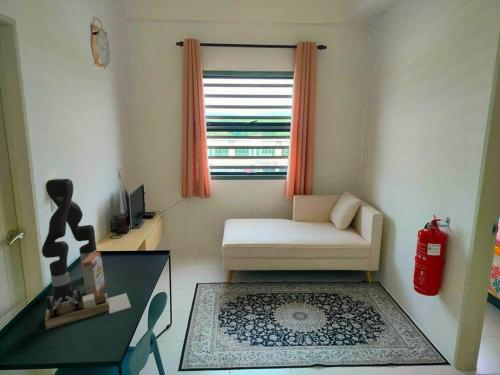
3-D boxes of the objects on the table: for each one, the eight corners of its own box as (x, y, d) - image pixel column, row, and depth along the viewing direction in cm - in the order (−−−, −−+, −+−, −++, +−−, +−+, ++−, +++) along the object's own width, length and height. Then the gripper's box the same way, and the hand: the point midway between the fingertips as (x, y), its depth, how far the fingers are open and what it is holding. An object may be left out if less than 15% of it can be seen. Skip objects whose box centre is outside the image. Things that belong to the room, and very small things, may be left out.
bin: (48, 316, 152) (46, 309, 152) (107, 299, 165) (106, 292, 164) (46, 329, 142) (44, 321, 141) (109, 310, 155) (108, 302, 154)
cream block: (84, 309, 157) (82, 296, 156) (95, 305, 160) (93, 293, 159) (85, 314, 152) (82, 301, 151) (96, 311, 155) (94, 298, 153)
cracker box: (98, 297, 168) (92, 261, 164) (86, 299, 167) (80, 262, 163) (106, 285, 181) (100, 251, 178) (95, 286, 181) (89, 252, 177)
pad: (106, 299, 165) (106, 298, 165) (126, 294, 170) (126, 293, 170) (109, 314, 151) (109, 313, 151) (131, 307, 156) (130, 306, 156)
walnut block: (62, 315, 153) (59, 302, 151) (73, 312, 155) (71, 299, 154) (61, 321, 147) (59, 308, 146) (73, 318, 150) (71, 304, 149)
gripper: (78, 275, 154) (83, 304, 157) (44, 283, 148) (50, 314, 150) (78, 280, 148) (83, 311, 151) (43, 289, 141) (49, 321, 144)
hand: (66, 312), depth 151 cm, fingers open, 8 cm apart
